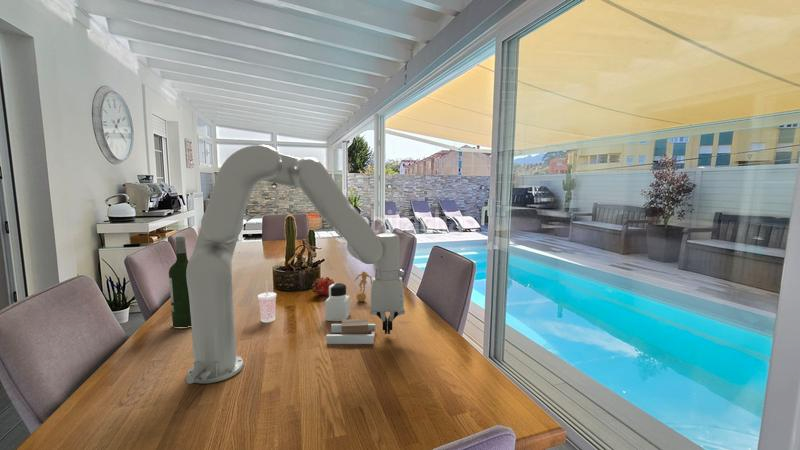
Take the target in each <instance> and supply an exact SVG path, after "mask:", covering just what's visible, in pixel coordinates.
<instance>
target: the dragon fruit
mask: <svg viewBox="0 0 800 450" xmlns="http://www.w3.org/2000/svg"><path fill="white" fill-rule="evenodd" d="M332 284H335V281H334V280H333V279H330V277H328V276H327V277H325V278H324V277H323V276H322V277H319V278H315V280H314V281H313V283H312V284H311V285H312V287H311V288H312V289H311V290H312V293H314V295H316V296H317V295H318V297H322V296H326V297H329V286H330V285H332Z"/></svg>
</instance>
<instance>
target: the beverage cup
mask: <svg viewBox="0 0 800 450" xmlns="http://www.w3.org/2000/svg"><path fill="white" fill-rule="evenodd" d="M276 298H277V292H273V291H270V292H269V291H268V280H265V292H262V293H259V294H257V299H258V304H259V312H260V320H261V321H260V322H262V323H272V322H273V321H275V320H276V303H277V301H276Z"/></svg>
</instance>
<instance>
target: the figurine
mask: <svg viewBox="0 0 800 450" xmlns="http://www.w3.org/2000/svg"><path fill="white" fill-rule="evenodd" d="M359 277H361V279H360V282H359V285H358V286H359V287H360V290H359V292H358V293H357V294H356V300H357V301H358V302H360V303H361V302H365V301H366V299H367V294H366V293H365V290H366V286H367V285H366V284H367V282H368V281H367V280H366V279H368V278H369V279H370V286H372V279H373V277H372V276H371V275H369V273H368V272H367V271H362V273H360V274H358V275H357V277H355V279H354V281H353V283H355V282H356V281H357V280H358V278H359Z"/></svg>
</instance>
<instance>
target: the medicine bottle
mask: <svg viewBox="0 0 800 450" xmlns="http://www.w3.org/2000/svg"><path fill="white" fill-rule="evenodd" d="M334 283H335V282H334ZM350 297H351V295H347V285H346V284H344V283H342V282H338V283H335V284H332V285H330V286H329V294H328V298H326V300H325V301H324V306H325V307H324V309H325V310H324V313H325V318H324V319H325V321H327V322H328V321H329V322H342V320H348V318H349V316H350V314H351V298H350Z"/></svg>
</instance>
